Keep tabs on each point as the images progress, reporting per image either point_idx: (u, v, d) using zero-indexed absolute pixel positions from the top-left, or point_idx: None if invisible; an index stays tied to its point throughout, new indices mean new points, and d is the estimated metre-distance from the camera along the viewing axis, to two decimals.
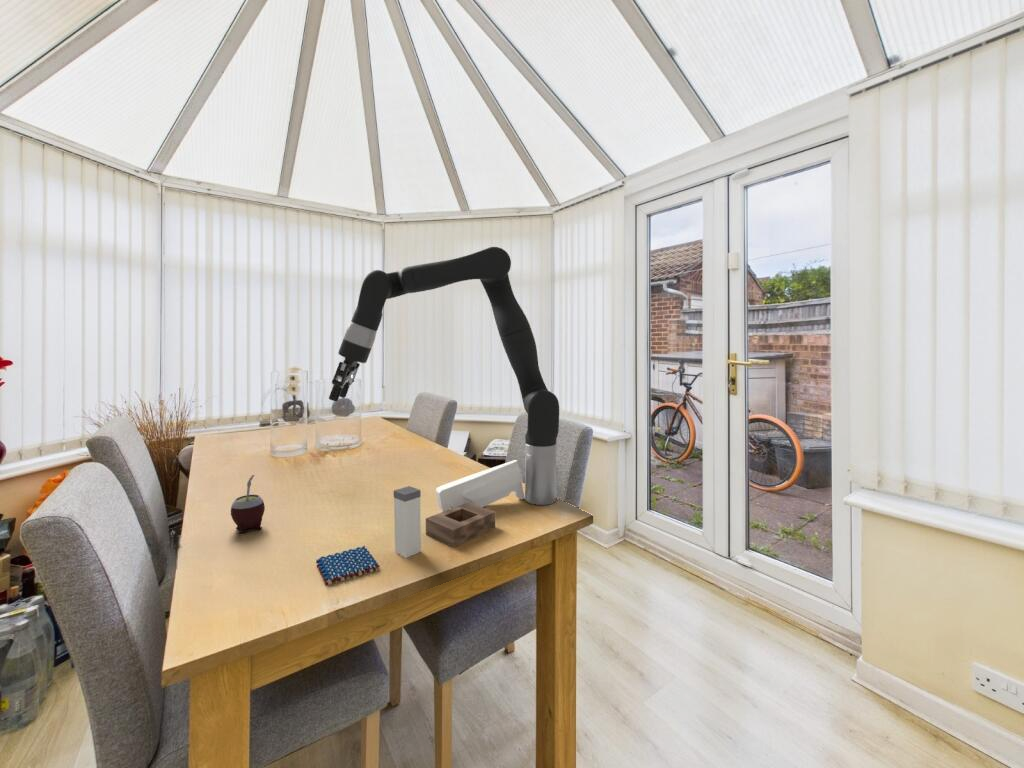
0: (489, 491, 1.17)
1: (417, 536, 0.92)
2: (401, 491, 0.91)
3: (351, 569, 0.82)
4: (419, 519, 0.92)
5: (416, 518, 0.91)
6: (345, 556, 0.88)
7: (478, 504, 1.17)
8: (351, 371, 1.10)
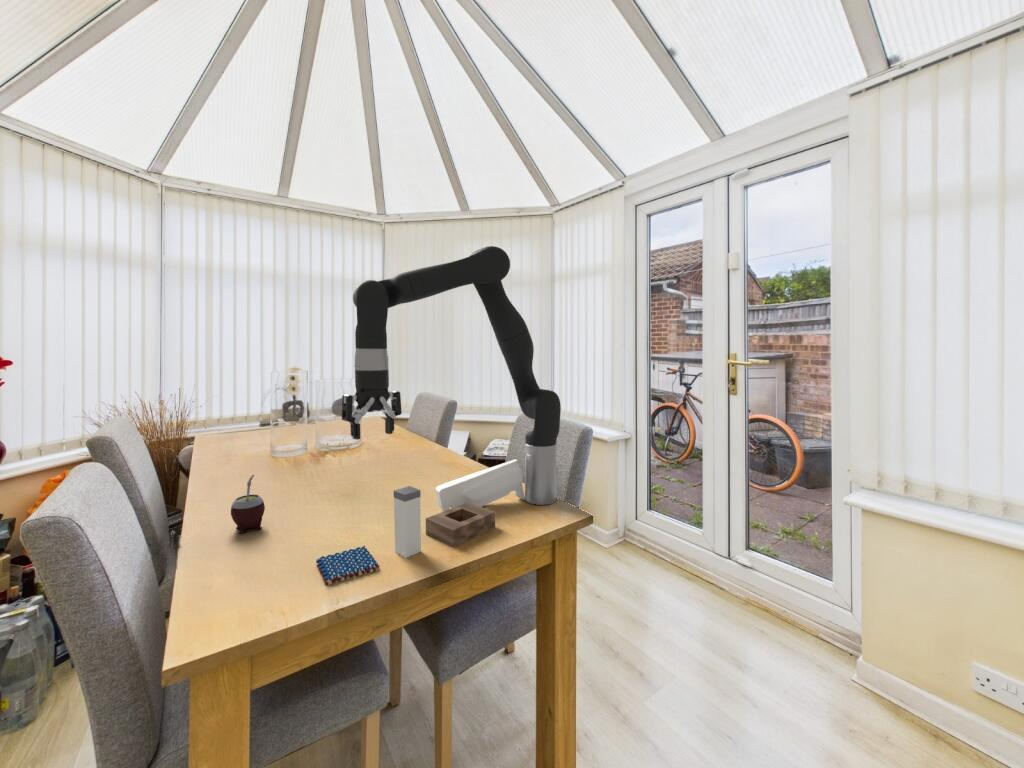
0: (489, 490, 1.17)
1: (417, 536, 0.92)
2: (401, 491, 0.91)
3: (351, 569, 0.82)
4: (419, 519, 0.92)
5: (416, 518, 0.91)
6: (345, 556, 0.88)
7: (478, 503, 1.17)
8: (366, 402, 0.96)
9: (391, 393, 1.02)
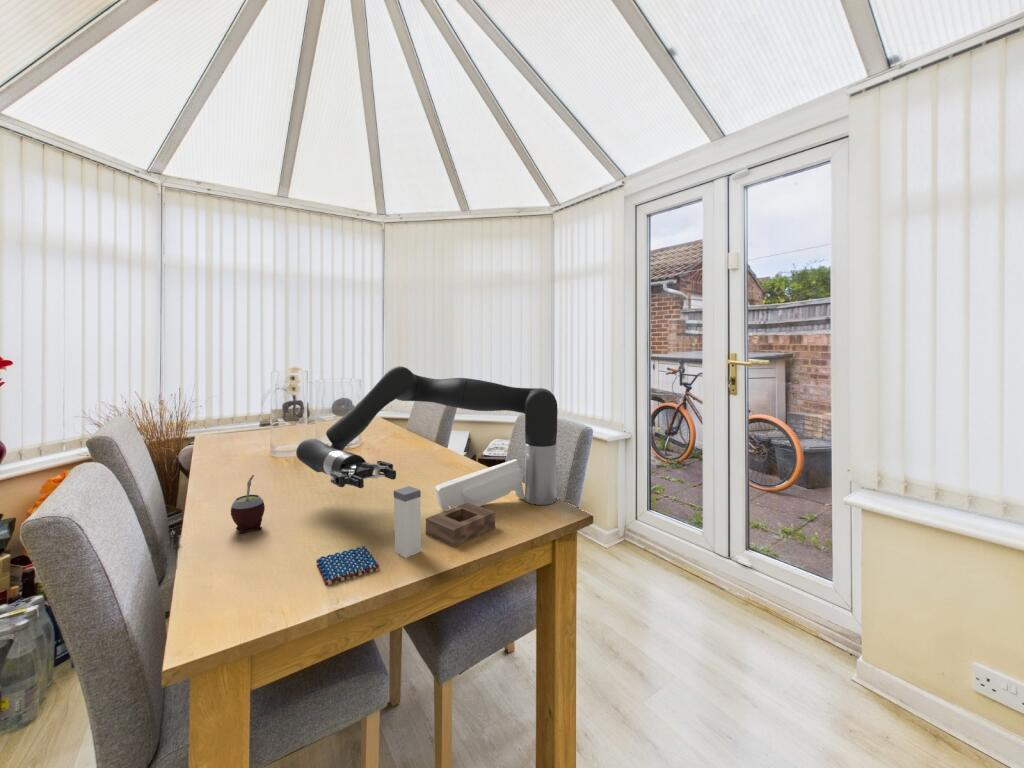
0: (489, 490, 1.18)
1: (417, 535, 0.92)
2: (401, 491, 0.91)
3: (351, 569, 0.82)
4: (419, 519, 0.92)
5: (416, 518, 0.91)
6: (345, 556, 0.88)
7: (477, 502, 1.18)
8: (351, 468, 1.02)
9: None
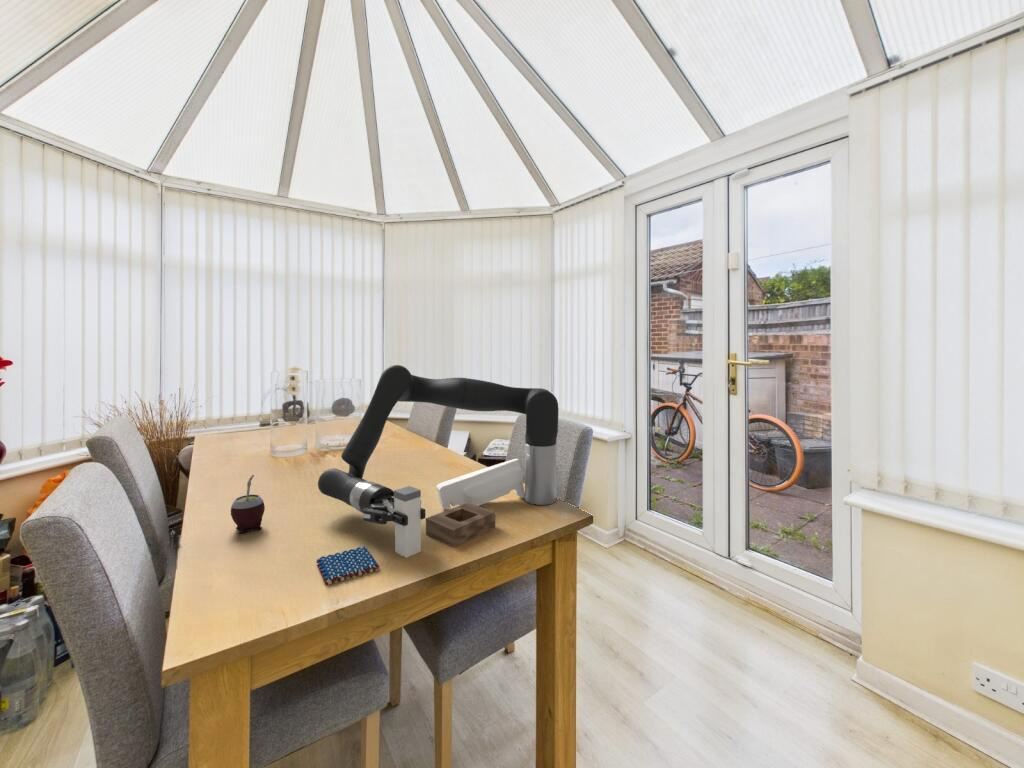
0: (489, 489, 1.19)
1: (417, 535, 0.92)
2: (401, 491, 0.91)
3: (351, 569, 0.82)
4: (419, 519, 0.92)
5: (416, 518, 0.91)
6: (345, 556, 0.88)
7: (478, 501, 1.19)
8: (383, 503, 0.94)
9: None
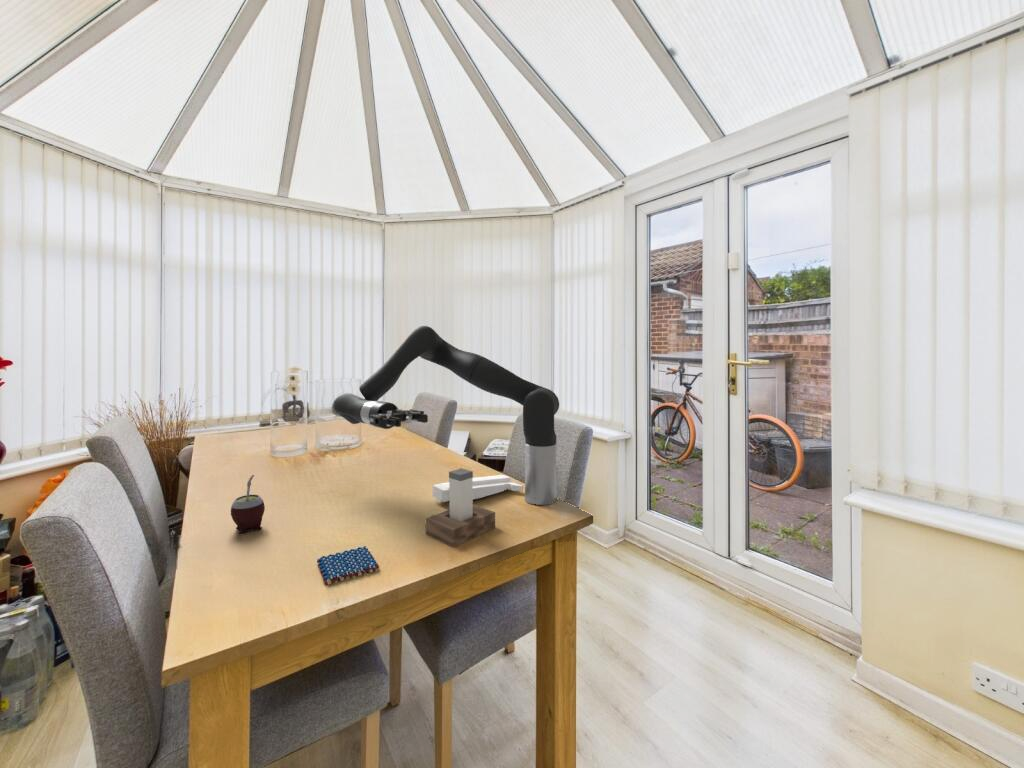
0: (480, 479, 1.28)
1: (469, 512, 1.02)
2: (456, 472, 1.01)
3: (351, 569, 0.82)
4: (471, 497, 1.03)
5: (469, 496, 1.02)
6: (346, 556, 0.88)
7: (475, 486, 1.23)
8: (387, 412, 1.14)
9: (406, 413, 1.20)
